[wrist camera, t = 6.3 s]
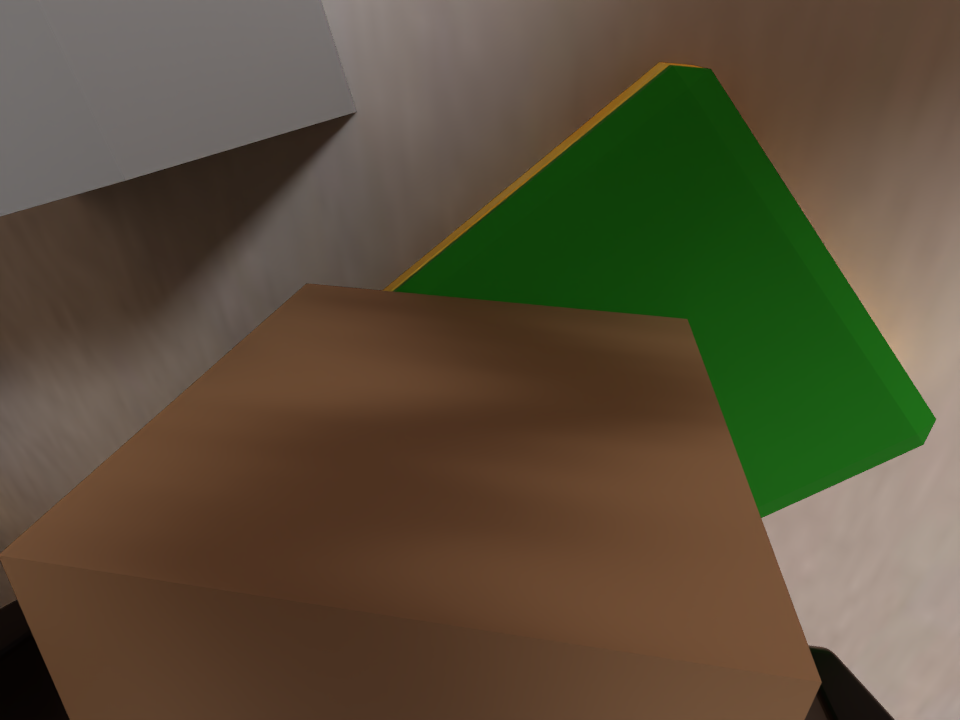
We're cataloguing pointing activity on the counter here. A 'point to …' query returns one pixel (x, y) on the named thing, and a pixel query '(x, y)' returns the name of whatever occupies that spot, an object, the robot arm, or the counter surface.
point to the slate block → (152, 86)
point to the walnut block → (422, 531)
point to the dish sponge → (699, 278)
